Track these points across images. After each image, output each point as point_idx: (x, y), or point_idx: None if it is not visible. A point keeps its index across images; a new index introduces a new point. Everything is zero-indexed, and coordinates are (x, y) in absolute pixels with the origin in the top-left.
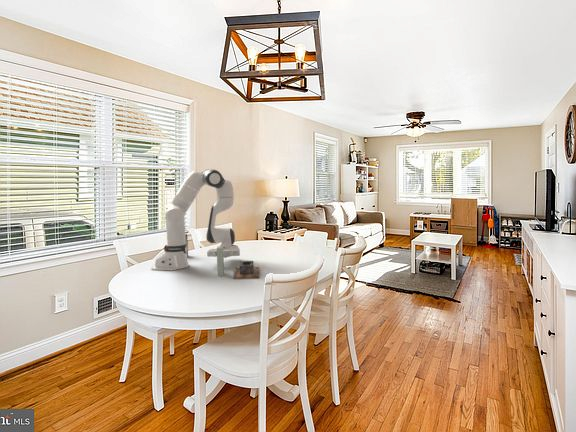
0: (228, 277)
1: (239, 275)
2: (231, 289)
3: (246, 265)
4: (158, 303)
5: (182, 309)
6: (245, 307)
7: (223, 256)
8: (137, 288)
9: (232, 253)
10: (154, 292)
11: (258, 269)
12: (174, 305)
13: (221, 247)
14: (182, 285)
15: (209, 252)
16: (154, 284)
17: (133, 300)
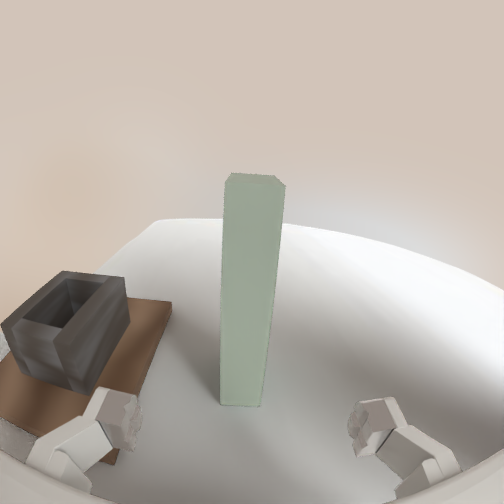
0: (193, 331)
1: (138, 310)
2: (193, 255)
3: (89, 274)
4: (341, 238)
5: (284, 225)
6: (179, 219)
7: (221, 287)
8: (455, 282)
9: (72, 431)
10: (395, 265)
11: (8, 355)
12: (306, 232)
13: (239, 176)
14: (362, 288)
15: (496, 454)
16: (448, 298)
17: (397, 249)
